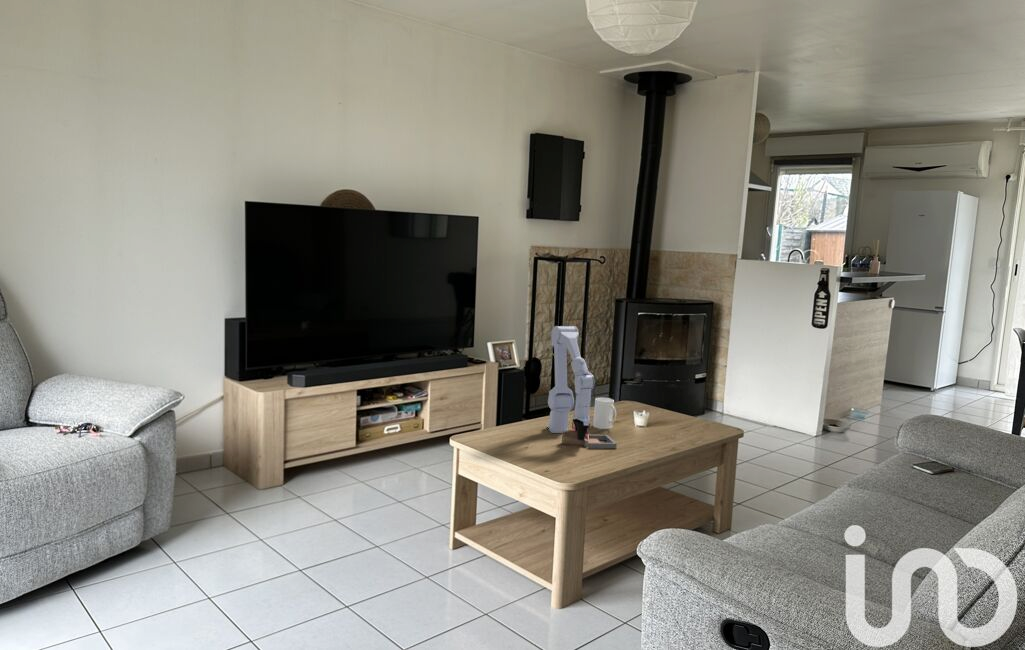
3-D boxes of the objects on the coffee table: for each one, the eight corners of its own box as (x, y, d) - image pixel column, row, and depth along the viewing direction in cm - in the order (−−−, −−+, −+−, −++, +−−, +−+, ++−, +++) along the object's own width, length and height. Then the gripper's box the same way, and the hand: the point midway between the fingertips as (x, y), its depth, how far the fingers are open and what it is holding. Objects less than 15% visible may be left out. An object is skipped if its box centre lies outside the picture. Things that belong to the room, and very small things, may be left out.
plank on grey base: (559, 440, 284) (561, 428, 283) (581, 440, 286) (582, 428, 285) (565, 446, 276) (566, 433, 276) (587, 446, 278) (588, 434, 277)
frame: (580, 439, 288) (581, 434, 288) (606, 439, 290) (607, 434, 290) (589, 448, 276) (589, 443, 276) (616, 448, 278) (616, 443, 278)
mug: (621, 430, 306) (623, 403, 304) (605, 432, 301) (607, 404, 300) (604, 423, 316) (606, 396, 314) (588, 424, 311) (590, 397, 310)
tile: (582, 442, 285) (582, 438, 285) (596, 442, 287) (596, 438, 286) (586, 446, 279) (586, 442, 279) (601, 446, 281) (601, 443, 281)
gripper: (568, 400, 286) (565, 433, 288) (577, 409, 272) (575, 443, 273) (585, 400, 287) (582, 433, 289) (595, 409, 273) (592, 444, 275)
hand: (580, 438), depth 281 cm, fingers closed on plank on grey base, 2 cm apart
